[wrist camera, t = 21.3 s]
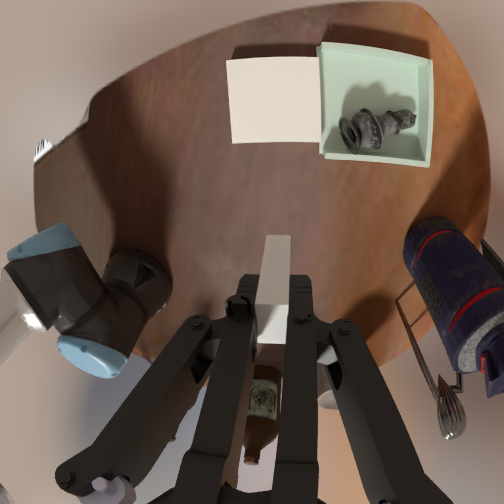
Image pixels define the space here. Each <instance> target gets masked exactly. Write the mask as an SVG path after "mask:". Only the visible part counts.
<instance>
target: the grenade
mask: <svg viewBox="0 0 504 504" xmlns="http://www.w3.org/2000/svg"><path fill="white" fill-rule="evenodd" d="M480 241H481V245H482V251H483V255H482V254H481V253H480V252H479V250H478V249H477V248H476V247H475V246H474V245H473V244H472V243H471V242H470V241H469V239H468V238H467V237H466V236H464V235H463V233H462V232H461V231H460V230H459V229H458V228H457V227H456V226H455V225H454V224H453V223H452V222H451V221H449V220H448V219H446V218H443V217H437V216H436V217H432V218H428V219H426V220H424V221H422V222H420V223H419V224H418V225H417V226H415V228H414V229H413V230H412V231H411V232H410V234H407V236H406V239H405V243H404V249H403V259H404V262H405V265H406V267H407V268H408V270H409V272H410V274H411V276H412V278H413V279H414V282H415V284H416V286H417V288H418V290H419V292H420V294H421V296H422V298H423V300H424V302H425V304H426V306H427V308H428V310H429V313H430V315H431V317H432V319H433V321H434V324H435V326H436V328H437V330H438V332H439V335H440V337H441V340H442V342H443V344H444V346H445V349H446V352H447V355H448V357H449V360H450V362H451V365H452V367H453V369H454V371H456V372H457V373H462V374H467V373H472V372H476V371H481V372H482V373H485V384H486V391H487V398H490V397H492V396H494V395H496V394H501V393H503V392H504V262H503V261H502V260H501V258H500V257H499V256H498V255H497V254H496V253H495V252H494V250H493V249H492V248H491V247H490V246H489V245H488V244H487V242H486V241H485V240H484V239H483V238H482V239H481V240H480Z"/></svg>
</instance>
